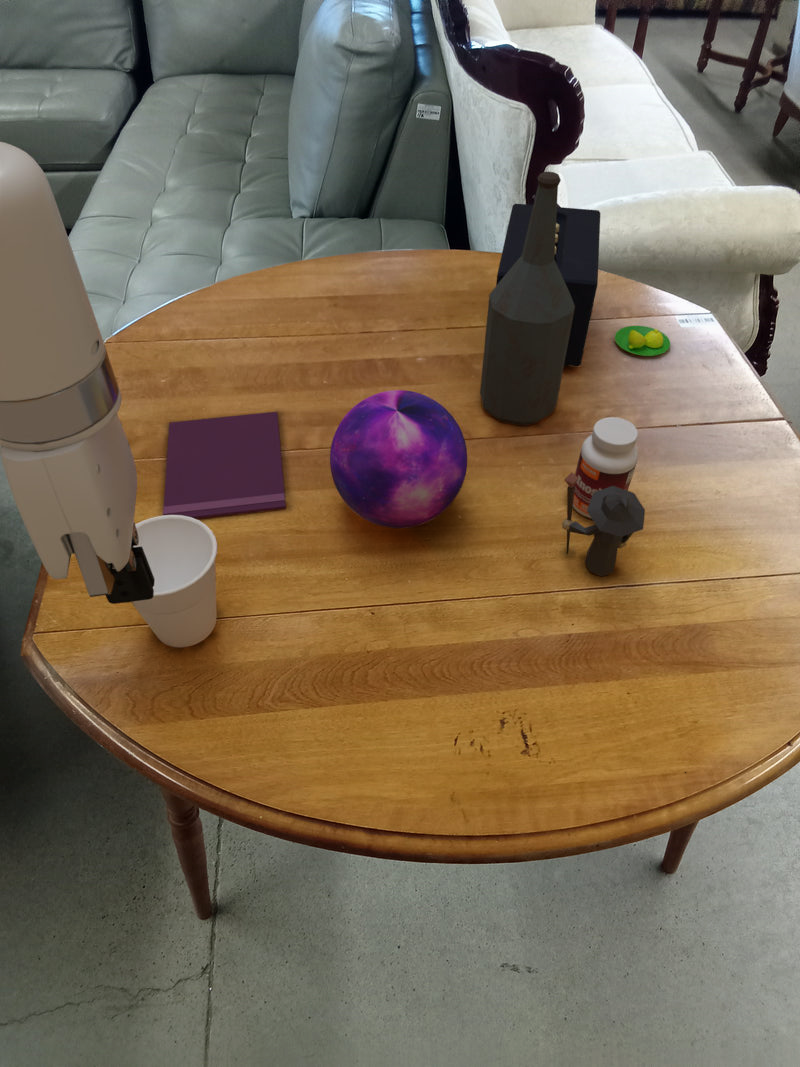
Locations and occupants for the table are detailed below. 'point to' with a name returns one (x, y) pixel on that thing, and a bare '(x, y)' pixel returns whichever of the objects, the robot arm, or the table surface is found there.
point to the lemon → (642, 340)
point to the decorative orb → (398, 459)
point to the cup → (179, 578)
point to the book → (224, 466)
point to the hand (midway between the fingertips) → (132, 592)
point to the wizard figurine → (605, 524)
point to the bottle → (528, 323)
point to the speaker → (564, 263)
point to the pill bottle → (605, 460)
